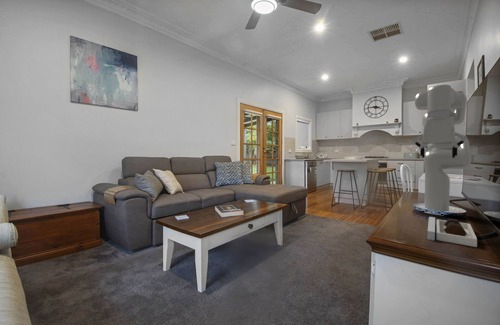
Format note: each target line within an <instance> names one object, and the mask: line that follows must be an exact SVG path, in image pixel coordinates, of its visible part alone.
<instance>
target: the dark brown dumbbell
mask: <svg viewBox="0 0 500 325" xmlns="http://www.w3.org/2000/svg"><path fill="white" fill-rule="evenodd" d="M445 221H446V222H445V224H444V225H445V226H446V228H445V229H444V231H445V232H446V234H452V235H458V236H465V235H466V234H467V233H466V231H465V230H464V229H463V227H462V226H461V224H460V223H461V222H460V223H459V220H458V219H455V218H454V219H453V218H447V220H445Z"/></svg>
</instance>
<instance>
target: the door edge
mask: <svg viewBox="0 0 500 325" xmlns="http://www.w3.org/2000/svg"><path fill="white" fill-rule="evenodd" d="M427 223H428V224H427V234H426V235H427V240H429V241H435V240H436V217H434V216H429V217H428V222H427Z"/></svg>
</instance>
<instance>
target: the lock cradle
mask: <svg viewBox="0 0 500 325" xmlns="http://www.w3.org/2000/svg"><path fill="white" fill-rule="evenodd" d="M446 221H447V220H446V219H445V220H444V219H439V218H438V219H437V218H436V224H435V227H436V241H441V242H445V243H452V244H458V245H462V246H463V245H464V246H467V247H468V246H469V247H474V248H477V247H478V239H477V238H478V237H477V236H476V234H475V232H474V229H473V227H472V225H471V223H467V222H466V223H465V222H461V221H460V222H459V223H460V224H461V226H462V227H463V229H464V230H465V231H466V233H467V234H466V235H465V236H458V235H452V234H446V232H445V231H444V229H445V228H446V226H445V225H444V224H445V222H446Z"/></svg>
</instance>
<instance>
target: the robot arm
mask: <svg viewBox="0 0 500 325" xmlns="http://www.w3.org/2000/svg"><path fill="white" fill-rule="evenodd" d="M466 97H467V96H466V95H465V93H464V92H462V91H456V90H455V89H453V88H452V86H451V85H450V84H438V85H434V86H431V87H429V88H428V90H426V91H425V90H424V91H420V92H418V93H416V95H415V98H414V105H415V107H416V109H417V110H419V111H420V110H421V111H426V110H427V111H426V113H424V115H423V116H422V125H423V126H422V127H423V128H422V130H423V131H422V134H420V135H418V136H415V137H413V138H412V141H413V143H414V145H415V146H417V147H418V148H419V152H420V153H419V155H420V157H421V159H423V166H424V207H425V208H427V209H434V210H440V211H449V210H450V193H451V192H450V189H451V187H450V185H451V184H450V182H451V180H450V175H448V174H447V173H446V172H445V171H444V170H466V169H468V168H469V167H470V166H471V163H472V158H471V157H472V156H471V149H470V148H471V147H470V142H469V139H468V136H467V135H464V134H462V133H458V132H456V131H455V130H456V129H455V125H460V124H462V123H463V122H464V120H465V115H466V108H467V98H466ZM419 139H422V142H423V143H422V144H421V143H419V141H418V140H419ZM426 145H427V151H426V150H425V146H426ZM424 213H425V214H429V215H435V216H442V217H443V216H444V215H441V214H439V213H431V212H424Z"/></svg>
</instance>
